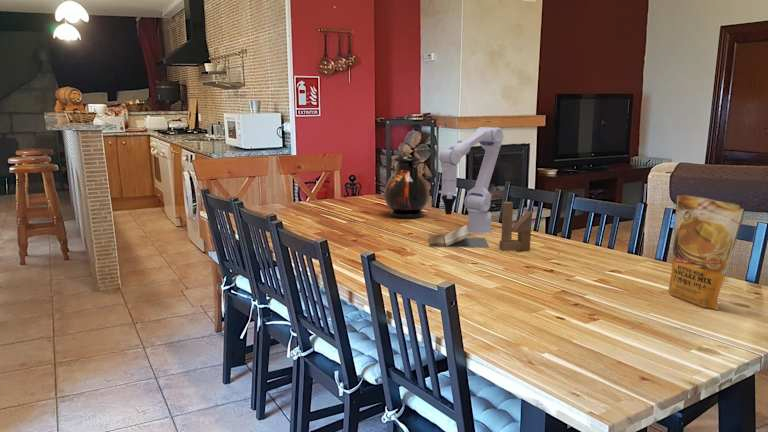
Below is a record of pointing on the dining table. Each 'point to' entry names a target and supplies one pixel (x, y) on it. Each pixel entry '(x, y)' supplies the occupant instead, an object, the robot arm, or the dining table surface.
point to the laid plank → (436, 240)
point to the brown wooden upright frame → (515, 230)
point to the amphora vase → (406, 189)
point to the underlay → (469, 243)
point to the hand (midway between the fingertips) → (448, 214)
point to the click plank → (456, 235)
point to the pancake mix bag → (702, 248)
